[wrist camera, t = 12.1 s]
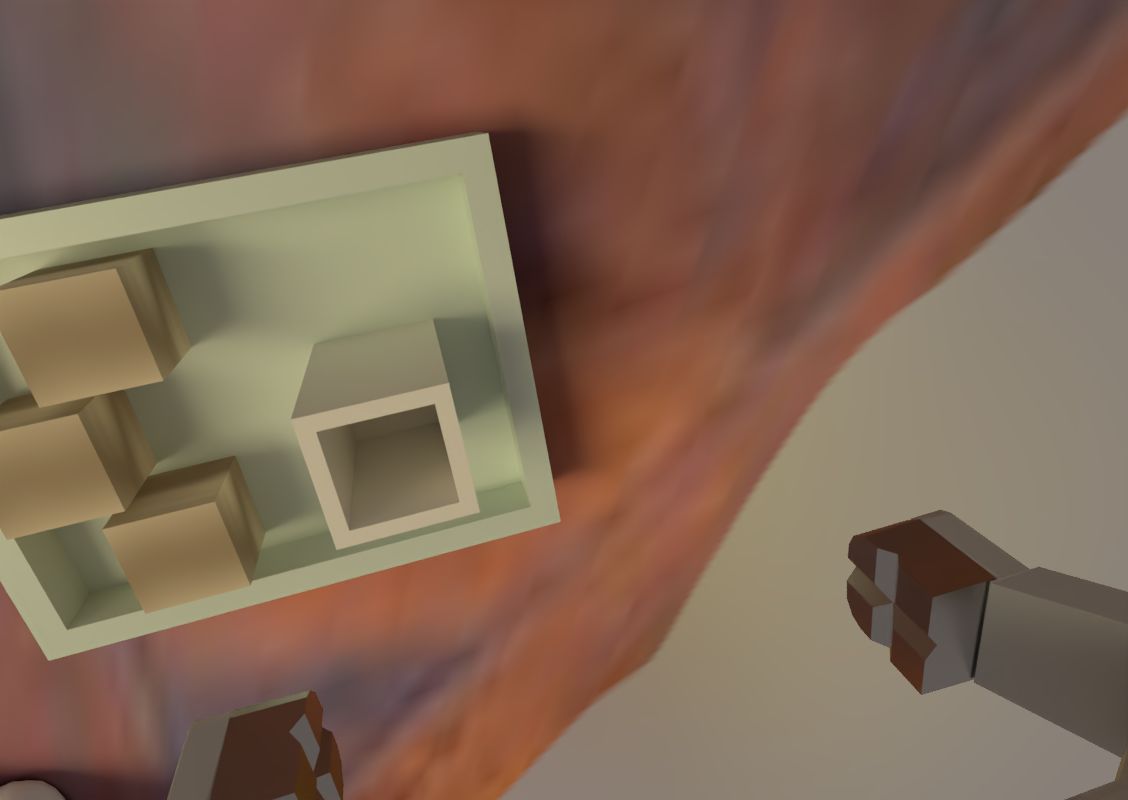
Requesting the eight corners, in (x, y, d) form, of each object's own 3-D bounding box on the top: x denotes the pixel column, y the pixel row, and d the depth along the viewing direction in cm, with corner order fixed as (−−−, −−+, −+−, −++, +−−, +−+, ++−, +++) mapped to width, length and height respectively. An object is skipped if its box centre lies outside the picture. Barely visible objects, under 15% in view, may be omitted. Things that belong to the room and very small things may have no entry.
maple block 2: (7, 398, 27) (-51, 442, 23) (117, 375, 27) (77, 414, 24) (54, 486, 28) (6, 540, 25) (157, 462, 29) (125, 511, 25)
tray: (-123, 236, 25) (-199, 254, 22) (476, 131, 28) (488, 132, 25) (82, 605, 32) (48, 660, 29) (544, 484, 35) (560, 521, 32)
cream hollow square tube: (313, 344, 29) (290, 419, 22) (432, 318, 30) (448, 382, 22) (347, 449, 31) (336, 550, 24) (457, 422, 32) (479, 512, 24)
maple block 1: (37, 269, 25) (-20, 294, 22) (152, 247, 26) (115, 268, 22) (85, 369, 27) (39, 407, 23) (192, 346, 28) (163, 381, 24)
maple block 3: (136, 478, 29) (102, 529, 25) (235, 455, 30) (214, 501, 26) (173, 555, 31) (145, 613, 27) (265, 532, 31) (250, 585, 28)
